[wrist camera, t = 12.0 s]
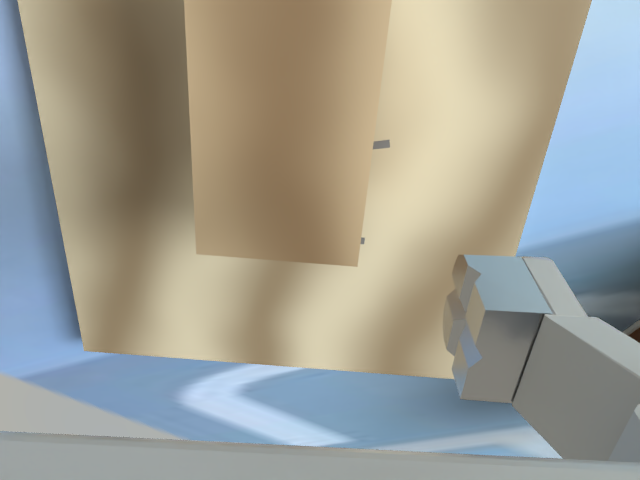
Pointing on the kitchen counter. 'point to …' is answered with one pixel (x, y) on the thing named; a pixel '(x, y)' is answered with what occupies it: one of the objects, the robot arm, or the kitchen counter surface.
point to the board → (382, 194)
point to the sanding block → (283, 124)
